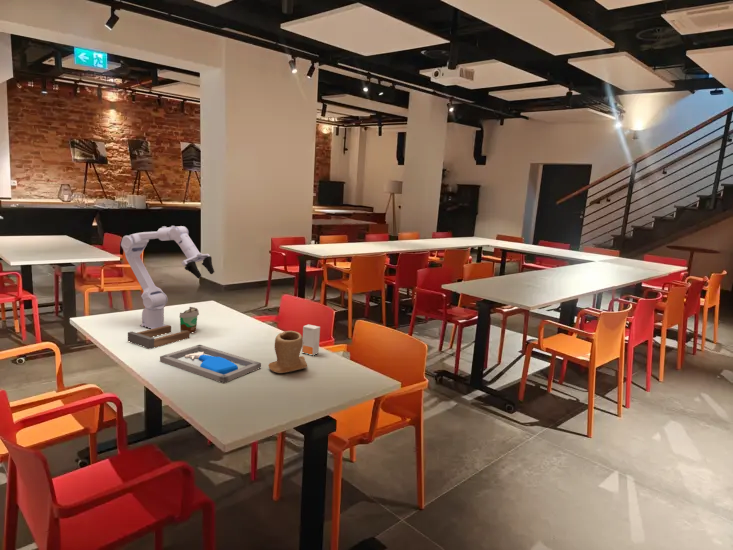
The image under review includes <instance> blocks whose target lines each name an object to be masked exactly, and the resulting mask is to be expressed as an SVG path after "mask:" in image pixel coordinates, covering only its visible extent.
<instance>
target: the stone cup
mask: <svg viewBox="0 0 733 550" xmlns="http://www.w3.org/2000/svg"><path fill="white" fill-rule="evenodd" d="M302 339H303V335H302V334H301V333H300V332H298V331H295V330H294V331H293V330H285V331H283V332H280V333H278V334H277V335H276V337H275V339H274V353H275V355H276V361H273V362H269V364H268V369H270V371H272V372H273V373H274V372H275V373H277V374H283V373H284V374H285V373H289V372H295V371H299V370H303V369H306V368H308V366H309V365H308V363H307V361H306V358H305V357H304V356H302V355H300V354H301V352H302V345H303V340H302Z"/></svg>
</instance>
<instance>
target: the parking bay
mask: <svg viewBox="0 0 733 550" xmlns="http://www.w3.org/2000/svg"><path fill="white" fill-rule="evenodd" d="M166 325H167V326H162V327H158V328H154V329H145V330H142V331H139V332H136V333H139V334H142V335H145V336H148V337H152V338H154V337H153V336H155V338H154V347H155V348H158V346H159V347H161V346H166V345H168V344H173V343H177V342H180V341H183V339H184V340H187V339H190V338H191V337H190V334H191V333H190V331H187V330H186V331H182V332H181V331H180V332H179V331H178V332H175V333H172V325H170V324H169V325H168V324H166ZM169 332H171V333H169ZM165 333H167V334H168V335H167V334H166V335H165ZM161 334H163V335H164V336H163V335H161ZM157 335H159V336H157ZM179 340H180V341H179ZM176 341H177V342H176ZM172 342H173V343H172ZM165 344H166V345H165Z"/></svg>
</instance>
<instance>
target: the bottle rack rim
mask: <svg viewBox="0 0 733 550" xmlns="http://www.w3.org/2000/svg"><path fill="white" fill-rule="evenodd" d="M198 352H204V354H205V355H209V356H215V357H221V358H224V359H227V360H229V361H231V362H233V363H234V364H239V365H241V366H242V367H240V368H238V369H237V370H235V371H232V372H230V373H227V374H224V375H223V374H220V373H217V372H214V371H211V370H208V369H205V368H202V367H200V366H199V365H196V364H193V363H191V362H190V363H189V362H187V361H184V360H181V359H180V358H183V357H185V355H188V354H193V353H198ZM160 361H161V362H160ZM159 362H160V363H164V364H167V365H169V366H172V367H175V368H178V369H181V370H185V371H187V372H190V373H193V374H196V375H199V376H200V377H201V376H202V377H204V378H208V379H210V378H211V379H210V380H213V379H214V380H213V381H216V380H217V381H216V382H219V381H220V382H219V383H222V382H223V383H222V384H226V383H228V382H230V381H233V380H235V379H238V378H240V377H242V375H243V376H244V374H245V375H248V374H249V372H250V373H252V372H254V371H253V370H255V371H257V370H259V369H258V368H260V367H261V368H262V363H261V362H258V361H256V360H252V359H249V358H245V357H243V356H240V355H236V354H232V353H229V352H226V351H222V350H218V349H215V348H213V347H210V346H206V345H202V344H197V345H194V346H190V347H186V348H184V349H181V350H177V351H173V352H170V353H167V354H163V355H160V356H159ZM261 368H260V369H261ZM256 369H257V370H256ZM251 371H252V372H251ZM247 373H248V374H247ZM239 376H240V377H239ZM237 377H238V378H237ZM234 378H235V379H234ZM232 379H233V380H232ZM227 381H228V382H227ZM225 382H226V383H225Z"/></svg>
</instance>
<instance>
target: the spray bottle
mask: <svg viewBox="0 0 733 550" xmlns="http://www.w3.org/2000/svg"><path fill="white" fill-rule="evenodd" d="M184 358H185V359H191V360H192V361H193V360H194V359H198V360H199V361H200V362H201V363H200V366H199V367H202V368H205V369H208V370H211V371H214V372H217V373H220V374H223V375H224V374H227V373H230V372H232V371H235V370H237V369H239V367H238V365H237V363H235V362H232V361H229V360H227V359H224V358H221V357H215V356H212V355H209V354H205V353H204V352H196V353H193V354H188V355H185V356H184Z"/></svg>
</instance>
